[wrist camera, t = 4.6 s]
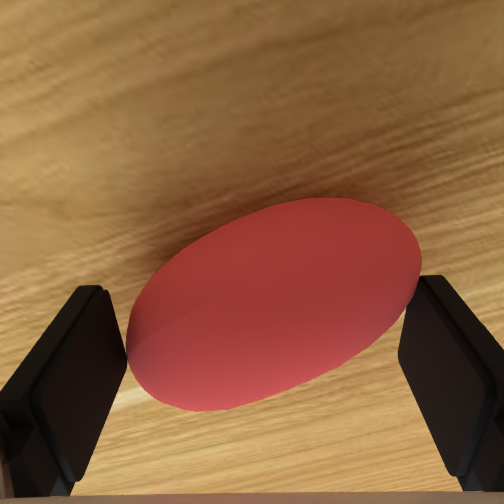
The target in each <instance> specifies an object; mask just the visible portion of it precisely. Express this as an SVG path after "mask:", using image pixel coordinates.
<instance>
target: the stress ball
mask: <svg viewBox="0 0 504 504" xmlns="http://www.w3.org/2000/svg"><path fill="white" fill-rule="evenodd" d="M421 262H422V258H421V251H420V248H419V244H418V242H417V240H416V238H415V236H414V234H413V233H412V231H411V230H410V229H409V228H408V227H407V226H406V225H405V224H404V223H403V222H402V221H401V220H399V219H398V218H397V217H396V216H394V215H393V214H392V213H390V212H389V211H387V210H386V209H384V208H382V207H379V206H377V205H373V204H369V203H364V202H361V201H357V200H353V199H349V198H306V199H301V200H296V201H291V202H286V203H281V204H276V205H272V206H269V207H267V208H264V209H262V210H259V211H256V212H254V213H251V214H248V215H246V216H243V217H240V218H238V219H236V220H234V221H232V222H230V223H228V224H226V225H224V226H222V227H220V228H218V229H216V230H214V231H212V232H210V233H209V234H207V235H205V236H203V237H202V238H200V239H198V240H196V241H195V242H193V243H192V244H190V245H188V246H187V247H185V248H184V249H183V250H181V251H180V252H179V253H178V254H176V255H175V256H174V257H173V258H171V259H170V260H169V261H168V262H167V263H165V264H164V265H163V266H162V267H161V268H160V269H159V270H158V271H157V272H156V273H155V274H154V275H153V276H152V278H151V279H150V281H149V282H148V283H147V285H146V286H145V288H144V289H143V290H142V292H141V293H140V295H139V296H138V298H137V299H136V301H135V303H134V305H133V308H132V310H131V314H130V318H129V323H128V329H127V334H126V353H127V360H128V363H129V365H130V368H131V371H132V373H133V375H134V376H135V378H136V380H137V381H138V383H139V384H140V385H141V386H142V387H143V389H144V390H145V391H146V392H148V393H149V394H150V395H151V396H152V397H154V398H155V399H157V400H159V401H161V402H163V403H165V404H168V405H171V406H175V407H178V408H181V409H184V410H189V411H196V412H198V411H213V410H226V409H231V408H234V407H238V406H241V405H245V404H248V403H251V402H255V401H258V400H262V399H264V398H267V397H270V396H272V395H275V394H277V393H280V392H282V391H285V390H287V389H290V388H292V387H295V386H297V385H300V384H302V383H305V382H307V381H309V380H312V379H314V378H316V377H318V376H320V375H322V374H324V373H326V372H328V371H330V370H332V369H334V368H336V367H338V366H340V365H341V364H343V363H344V362H346V361H347V360H349V359H350V358H352V357H353V356H355V355H356V354H358V353H359V352H361V351H362V350H364V349H365V348H367V347H368V346H370V345H371V344H372V343H373V342H374V341H376V340H377V339H378V338H379V337H380V336H381V335H382V334H383V333H384V332H386V331H387V330H388V329H389V328H390V327H391V326H392V325H393V324H394V323H395V321H396V320H397V319H398V318H399V316H400V315H401V314H402V312H403V311H404V309H405V308H406V307H407V305H408V304H409V302H410V301H411V299H412V297H413V296H414V294H415V291H416V287H417V283H418V280H419V276H420V271H421Z"/></svg>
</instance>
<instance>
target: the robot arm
mask: <svg viewBox="0 0 504 504" xmlns="http://www.w3.org/2000/svg"><path fill="white" fill-rule="evenodd" d="M398 360H399V363H400V366H401V368H402V370H403V372H404V375H405V377H406V379H407V381H408V384H409V386H410V388H411V390H412V393H413V395H414V397H415V399H416V402H417V404H418V406H419V408H420V411H421V413H422V415H423V417H424V419H425V422H426V424H427V426H428V428H429V431H430V433H431V435H432V437H433V440H434V442H435V444H436V446H437V449H438V451H439V453H440V455H441V457H442V460H443V462H444V464H445V466H446V469H447V471H448V472H449V474H450V475H451V476H453V477H454V476H456V477H457V479H458V481H459V483H460V485H461V487H462V490H463V491H483V492H443V491H422V492H294V493H214V494H151V495H96V496H70V494H71V491H72V489H73V487H74V484H75V482H79V481H80V480H81V479H82V478H83V476H84V474H85V471H86V469H87V466H88V464H89V461H90V459H91V456H92V454H93V451H94V449H95V446H96V444H97V441H98V439H99V436H100V434H101V431H102V429H103V426H104V424H105V421H106V419H107V416H108V414H109V411H110V409H111V407H112V404H113V402H114V399H115V397H116V394H117V392H118V389H119V387H120V384H121V382H122V379H123V377H124V374H125V372H126V369H127V355H126V352H125V348H124V345H123V341H122V337H121V334H120V330H119V327H118V323H117V319H116V316H115V312H114V308H113V305H112V301H111V298H110V294H109V292H108V290H103V288H102V287H101V286H100V285H84V286H78V287H77V288H76V290H75V291H74V292H73V294H72V295H71V297H70V298H69V299H68V301H67V302H66V303H65V305H64V306H63V307H62V309H61V310H60V311H59V313H58V314H57V315H56V317H55V318H54V320H53V321H52V322H51V324H50V325H49V326H48V328H47V329H46V330H45V332H44V333H43V334H42V336H41V337H40V338H39V340H38V341H37V343H36V344H35V345H34V347H33V348H32V349H31V351H30V352H29V353H28V355H27V356H26V357H25V359H24V360H23V361H22V363H21V364H20V366H19V367H18V368H17V370H16V371H15V372H14V374H13V375H12V376H11V378H10V379H9V380H8V382H7V383H6V384H5V386H4V387H3V389H2V390H1V391H0V504H504V350H503V348H502V347H501V346H500V345H499V343H498V342H497V341H496V340H495V338H494V337H493V336H492V335H491V333H490V332H489V331H488V330H487V329H486V327H485V326H484V325H483V324H482V323H481V322H480V321H479V320H478V318H477V317H476V316H475V315H474V313H473V312H472V311H471V310H470V308H469V307H468V306H467V305H466V303H465V302H464V301H463V300H462V298H461V297H460V296H459V295H458V294H457V292H456V291H455V290H454V289H453V287H452V286H451V285H450V284H449V282H448V281H447V280H446V279H445V277H443V276H442V275H425V276H419V280H418V283H417V287H416V291H415V294H414V296H413V297H412V299H411V301H410V302H409V304H408V305H407V308H406V313H405V318H404V323H403V328H402V333H401V338H400V343H399V348H398ZM51 496H62V497H51Z"/></svg>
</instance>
